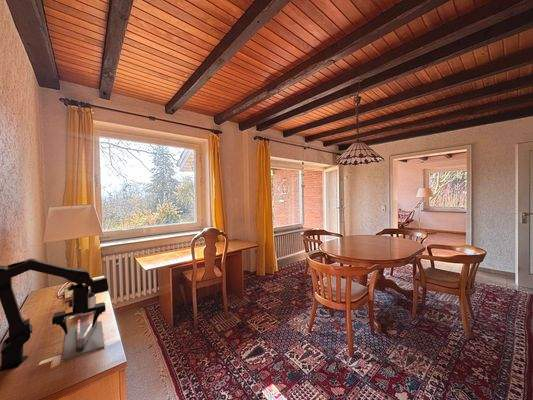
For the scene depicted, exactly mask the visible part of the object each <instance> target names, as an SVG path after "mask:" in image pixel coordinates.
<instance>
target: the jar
mask: <svg viewBox="0 0 533 400" xmlns="http://www.w3.org/2000/svg"><path fill="white" fill-rule="evenodd" d="M95 304H97V294H93V292H92V293H90V288H89V298H88V308H91V307H95ZM92 314H94V311H93V312H88V313H84V314H80V315H78V316H79V317H83V316H89V315H92Z"/></svg>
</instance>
